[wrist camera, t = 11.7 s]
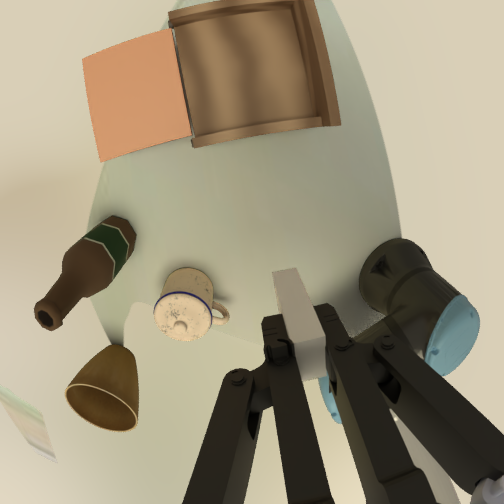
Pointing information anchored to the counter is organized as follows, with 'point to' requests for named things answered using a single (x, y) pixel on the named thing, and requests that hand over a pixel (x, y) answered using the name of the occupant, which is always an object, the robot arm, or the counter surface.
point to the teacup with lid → (187, 306)
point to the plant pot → (107, 390)
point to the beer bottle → (87, 269)
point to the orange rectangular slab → (136, 95)
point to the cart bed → (254, 68)
